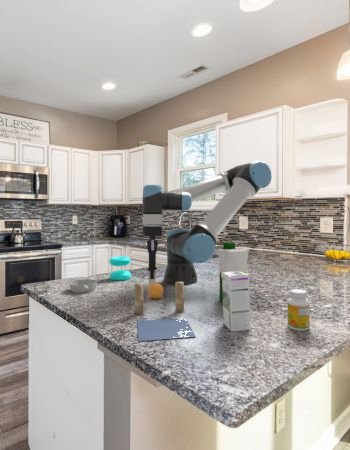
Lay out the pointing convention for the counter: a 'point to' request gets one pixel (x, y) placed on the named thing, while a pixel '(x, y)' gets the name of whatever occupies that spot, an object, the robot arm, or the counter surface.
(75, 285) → the saucepan
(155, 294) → the ball
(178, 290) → the right post
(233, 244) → the milk carton
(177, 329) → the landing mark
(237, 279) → the syrup box
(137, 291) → the left post
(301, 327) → the supplement bottle
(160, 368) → the counter surface
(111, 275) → the donuts
